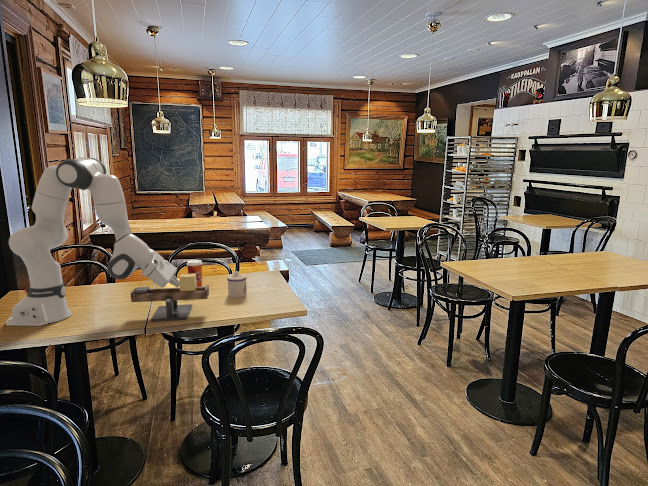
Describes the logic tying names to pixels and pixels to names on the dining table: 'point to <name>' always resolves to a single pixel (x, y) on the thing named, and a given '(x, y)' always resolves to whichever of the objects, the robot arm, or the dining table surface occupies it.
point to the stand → (171, 311)
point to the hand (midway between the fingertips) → (179, 285)
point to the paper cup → (195, 270)
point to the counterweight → (142, 290)
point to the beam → (170, 294)
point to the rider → (188, 283)
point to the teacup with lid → (237, 285)
